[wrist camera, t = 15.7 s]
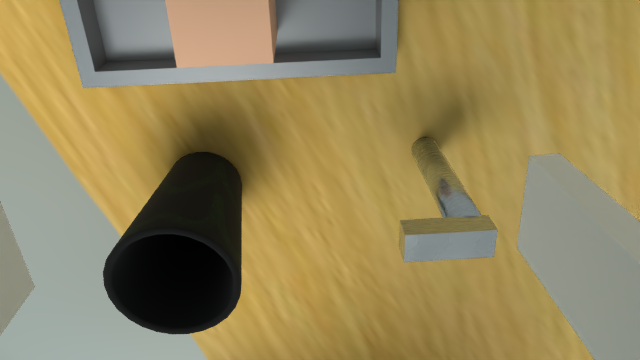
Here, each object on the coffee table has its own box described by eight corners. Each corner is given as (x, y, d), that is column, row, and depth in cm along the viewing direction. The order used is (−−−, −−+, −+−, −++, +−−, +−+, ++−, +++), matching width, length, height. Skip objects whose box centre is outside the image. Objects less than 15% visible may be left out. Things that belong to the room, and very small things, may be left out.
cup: (143, 144, 37) (84, 236, 27) (245, 133, 37) (227, 221, 27) (168, 230, 41) (124, 342, 30) (261, 220, 41) (250, 328, 30)
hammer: (436, 160, 39) (493, 258, 28) (372, 163, 39) (404, 263, 28) (438, 136, 38) (498, 228, 27) (372, 140, 38) (405, 233, 27)
